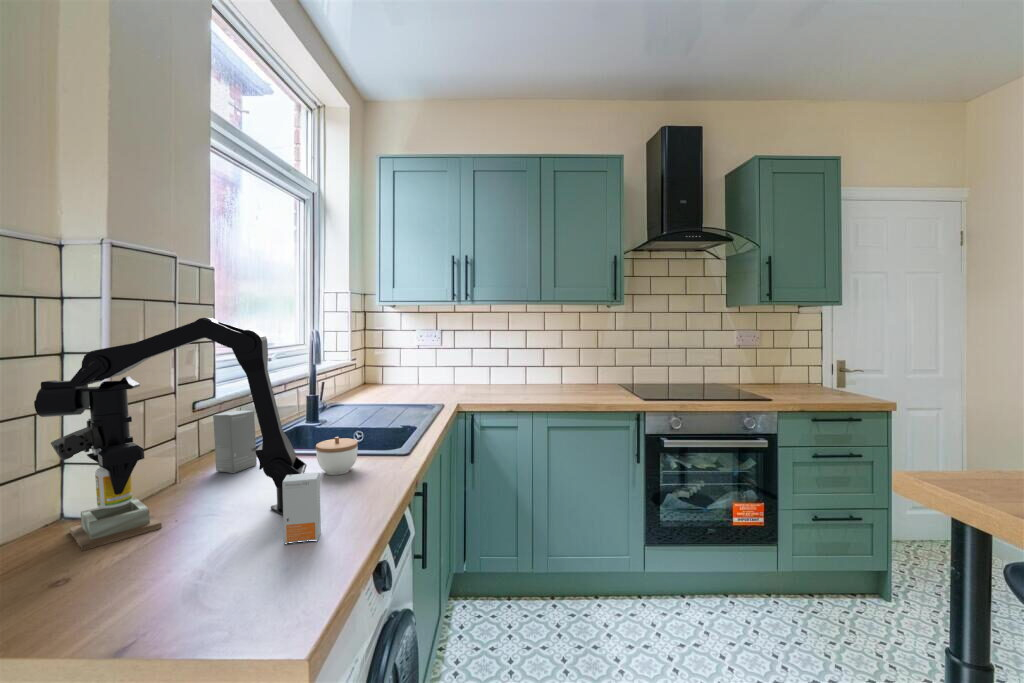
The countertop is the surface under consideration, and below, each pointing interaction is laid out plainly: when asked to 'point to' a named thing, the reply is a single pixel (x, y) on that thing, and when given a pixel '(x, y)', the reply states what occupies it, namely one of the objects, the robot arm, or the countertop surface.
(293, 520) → the skincare box
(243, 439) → the skincare box
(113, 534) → the socket board
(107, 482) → the supplement bottle
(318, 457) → the lidded jar
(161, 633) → the countertop surface
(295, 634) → the countertop surface
